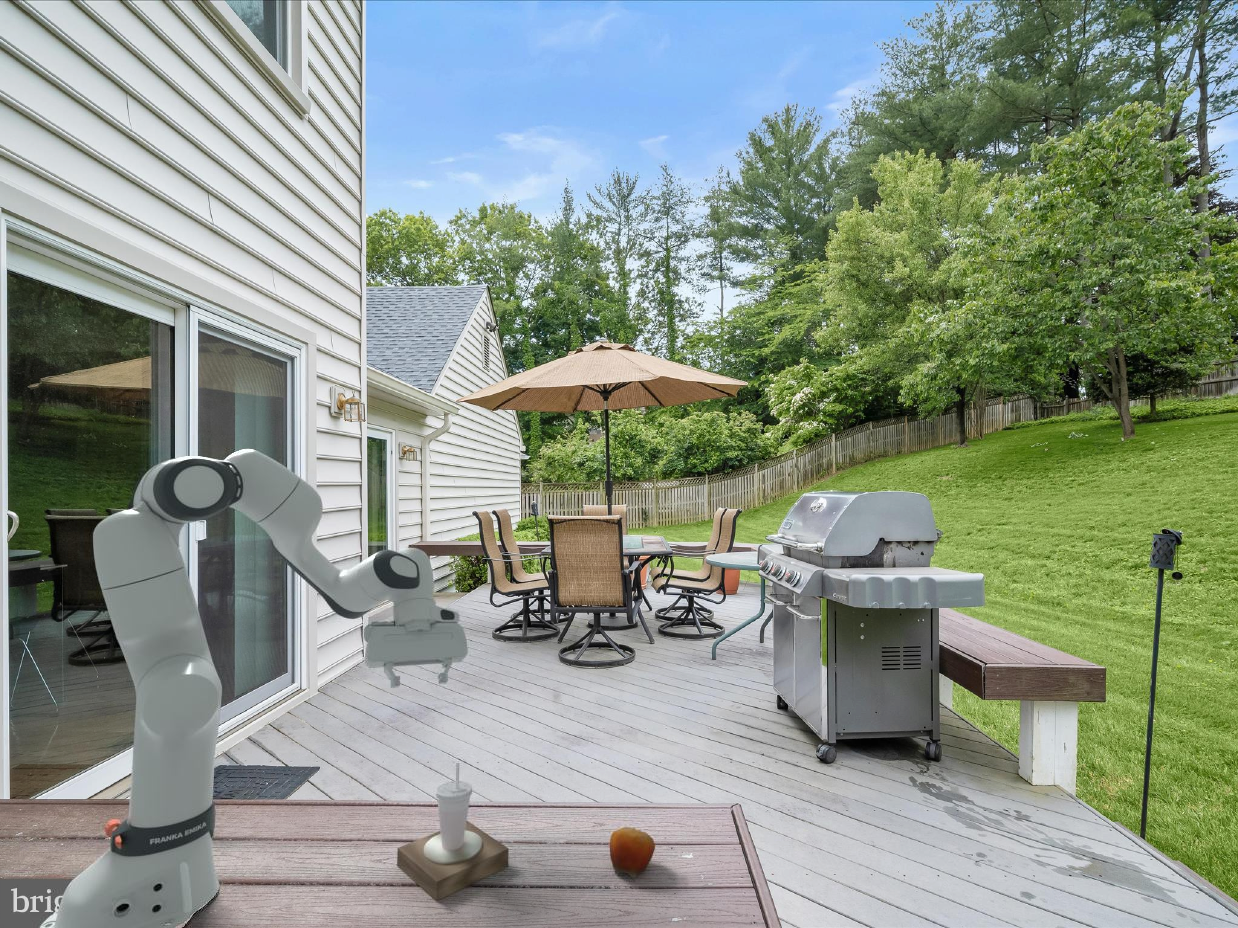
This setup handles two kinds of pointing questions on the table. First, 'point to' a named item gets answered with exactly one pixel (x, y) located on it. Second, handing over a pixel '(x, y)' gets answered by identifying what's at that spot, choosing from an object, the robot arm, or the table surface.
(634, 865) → the fruit
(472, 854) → the stand
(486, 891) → the table surface
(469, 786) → the smoothie
